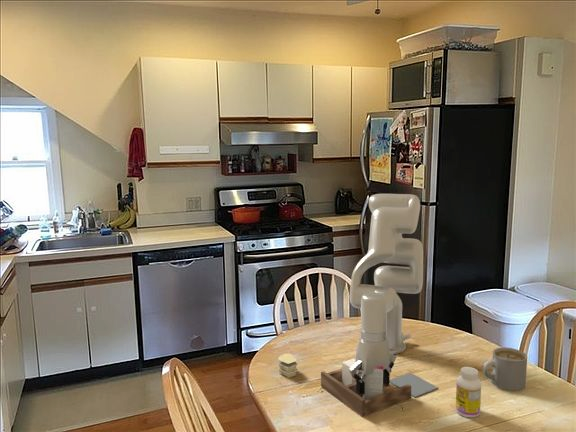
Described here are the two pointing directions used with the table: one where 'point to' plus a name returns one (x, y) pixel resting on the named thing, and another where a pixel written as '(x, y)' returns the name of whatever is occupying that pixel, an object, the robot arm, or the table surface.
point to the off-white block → (348, 372)
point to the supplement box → (374, 383)
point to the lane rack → (356, 402)
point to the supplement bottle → (468, 393)
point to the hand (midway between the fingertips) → (373, 388)
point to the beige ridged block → (287, 365)
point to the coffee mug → (507, 369)
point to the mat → (413, 384)
